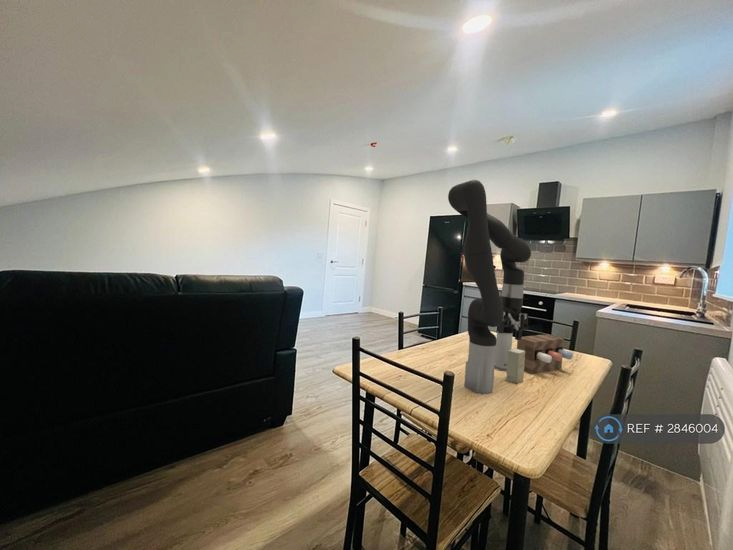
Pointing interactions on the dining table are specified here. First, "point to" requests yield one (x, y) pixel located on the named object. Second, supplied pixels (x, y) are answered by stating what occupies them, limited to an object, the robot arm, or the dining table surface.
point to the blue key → (565, 354)
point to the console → (540, 345)
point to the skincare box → (515, 365)
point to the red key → (555, 355)
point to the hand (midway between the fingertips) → (508, 336)
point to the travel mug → (503, 347)
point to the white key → (544, 357)
